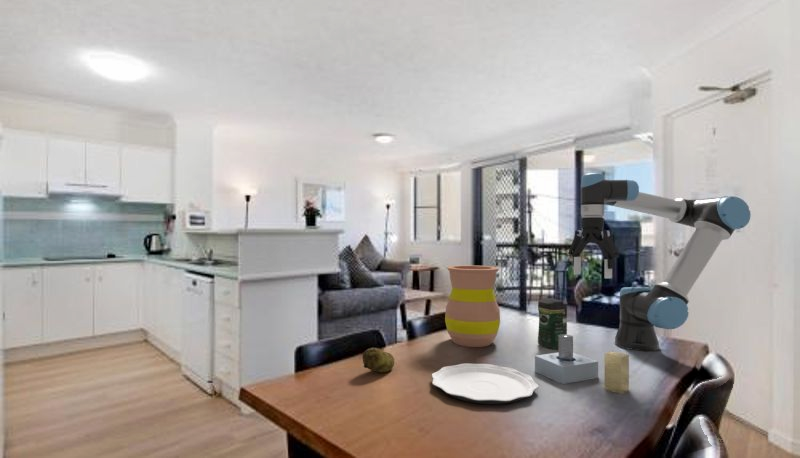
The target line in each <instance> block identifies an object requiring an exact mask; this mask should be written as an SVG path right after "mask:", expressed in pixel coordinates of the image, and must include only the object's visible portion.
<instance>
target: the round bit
mask: <svg viewBox="0 0 800 458" xmlns="http://www.w3.org/2000/svg"><path fill="white" fill-rule="evenodd" d="M558 352H559V360H562V361H573V353H574V336H573V335H570V334H567V335H564V334H562V335H559V349H558Z"/></svg>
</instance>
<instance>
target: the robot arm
mask: <svg viewBox="0 0 800 458" xmlns="http://www.w3.org/2000/svg"><path fill="white" fill-rule="evenodd" d="M580 198H581V200H580V204H581V205H580V215H581V218H580V227H581V228H582V230H575V231H574V237H573V239H572V243H570V244H571V245H570V246H569V250H568V256H569V255H570V256H571V257H572V265H573V276H575V275H581V274H582V256H581V254H582V252H583V250H585V248H586V247H587V245H588V244H596V245H597V247H598V248H599V249H600V251H601V252H602V254H603V255H604V256H605V258H604V279H613V269H614V268H615V264H614V263H615V262H614V260H615V259H619V258H620V254H619V252H618V249H617V247H616V245H615V244H616V243H615V242H614V239H613V237H612V231H611V230H604V229H603V228H604V227H605V218H604V216H605V205H607V206H612V207H615V208H621V209H625V210H629V211H632V212H637V213H638V212H639V213H643V214H648V215H652V216H657V217H661V218H665V219H668V220H669V221H670V222H671V223H676V224H681V225H684V226H688V227H691V228H695V230H694V232H693V233H692V235H691V236H690V238H689V240H688V241H687V242H686V244H685V246H684V248H683V249H682V251H681V252H680V253H679V255H678V256H677V258H676V260H675V262H673V264H672V266H671V268H670V269H669V271H668V273H667V274H666V275H665V277H664V278H663V280H662V281H661V282H659V283H655V284H654V286H653V287H622V288H621V289H620V291H619V326H618V329H617V331H616V334H615V336H614V345H616V346H618V347H620V348H624V349H627V350H633V351H640V352H642V351H643V352H652V351H653V352H654V351H658V350H659V349H660V341H659V340H658V336H657V333H656V331H655V328H659V329H664V330H675V329H677V328H680V327H681V326H683V325H684V324H686V322H687V321H688V318H689V311H688V310H689V307H688V304H689V302H690V300H689V298H688V294H689V293H690V291H691V289H692V288H693V287H694V285H695V283H696V282H697V280H698V279H699V277H700V275H701V274H702V273H703V271H704V269H705V268H706V266H707V265H708V263H709V262H710V260H711V258H712V256H713V255H714V253H715V252H716V250H718V247H719V246H720V244H721V243H722V241H723V240H729V239H730V238H731V236H732V235H733V234H734V232H735V231H736V230H741V229H743V228H745V227H747V225H748V224H749V223H750V220H751V210H750V206H749V205H748V204H747V202H746V201H745V200H744V199H743V198H740V197H738V196H728V195H723V196H721V197H710V198H709V197H708V198H707V197H706V198H699V199H686V198H685V199H684V198H681V197H680V198H676V199H672V198H668V197H663V196H660V195H654V194H650V193H646V192H641V191H640V186H639V183H638V182H637V181H635V180H633V179H632V180H631V179H605V175H604V173H598V172H597V173H586V174H583V175H582V176H581V181H580Z"/></svg>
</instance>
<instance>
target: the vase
mask: <svg viewBox="0 0 800 458" xmlns="http://www.w3.org/2000/svg"><path fill="white" fill-rule="evenodd" d="M445 268H446V269H447V270H448V271H449V279H450V283H451V288H452V289H451V290H450V295H449V298H448V300H447V303H446V306H445V314H444V315H445V318H444V321H445V326H446V330H447V334H448V335H449V337H450V339H451V340H452V342H453V343H454V344H455V345H458V346H461V347H467V348H468V347H469V348H484V347H489V346H490V345H492V343H493V342H494V340H495V339H496V337H497V335H498V332H499V329H500V324H501V312H500V307H499V304H498V302H497V301H498V300H497V298H496V295H495V292H494V291H495V290H494V287H495V284H496V283H495V282H496V279H497V272H498V271H499V270H500V269H501V268H500V267H498V266H491V265H489V266H488V265H470V264H469V265H464V264H463V265H448V266H446V267H445Z"/></svg>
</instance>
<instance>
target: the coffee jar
mask: <svg viewBox="0 0 800 458" xmlns="http://www.w3.org/2000/svg"><path fill="white" fill-rule="evenodd" d="M562 301H563V300H559V299H555V298H549V297H544V298H543V297H542V298H539V300H538V302H537V303H538V305H537V310H538V316H539V317H538V333H537V335H538V336H537V344H538V345H539V346H541V347H545V348H546V349H551V350H552V349H556V350H559V335H562V334H564V332H563V313H564V303H563V302H562Z"/></svg>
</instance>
